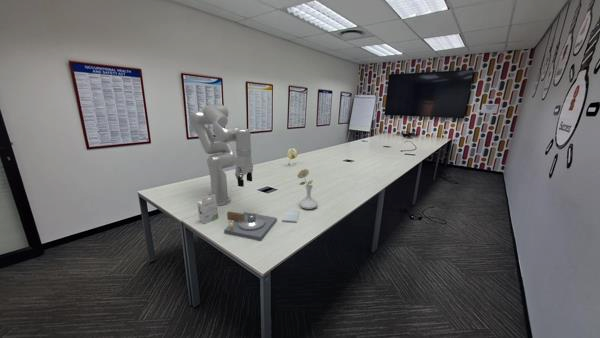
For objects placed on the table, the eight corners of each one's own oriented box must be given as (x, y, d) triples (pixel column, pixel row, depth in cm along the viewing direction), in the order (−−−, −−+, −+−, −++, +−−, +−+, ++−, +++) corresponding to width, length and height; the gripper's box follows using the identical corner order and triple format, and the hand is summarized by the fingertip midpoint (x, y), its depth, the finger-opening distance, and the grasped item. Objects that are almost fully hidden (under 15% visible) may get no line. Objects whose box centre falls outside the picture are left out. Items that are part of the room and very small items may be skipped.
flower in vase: (314, 202, 153) (316, 165, 146) (319, 210, 143) (321, 171, 135) (295, 203, 151) (296, 166, 144) (298, 211, 140) (299, 172, 133)
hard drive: (296, 221, 127) (299, 210, 139) (281, 220, 128) (286, 209, 140) (296, 224, 127) (299, 213, 139) (281, 222, 128) (286, 212, 140)
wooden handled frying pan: (220, 225, 119) (220, 217, 118) (235, 213, 132) (235, 205, 131) (257, 232, 113) (257, 224, 112) (269, 219, 126) (269, 211, 125)
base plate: (224, 233, 116) (223, 222, 114) (244, 215, 134) (244, 205, 132) (260, 240, 110) (260, 229, 109) (276, 221, 129) (276, 211, 127)
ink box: (213, 215, 133) (211, 191, 129) (218, 218, 130) (216, 193, 126) (199, 221, 127) (196, 196, 123) (203, 224, 124) (201, 198, 120)
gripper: (245, 148, 131) (247, 178, 136) (228, 155, 115) (230, 188, 120) (257, 149, 129) (258, 179, 134) (241, 156, 113) (243, 190, 118)
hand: (245, 183), depth 127 cm, fingers open, 8 cm apart
